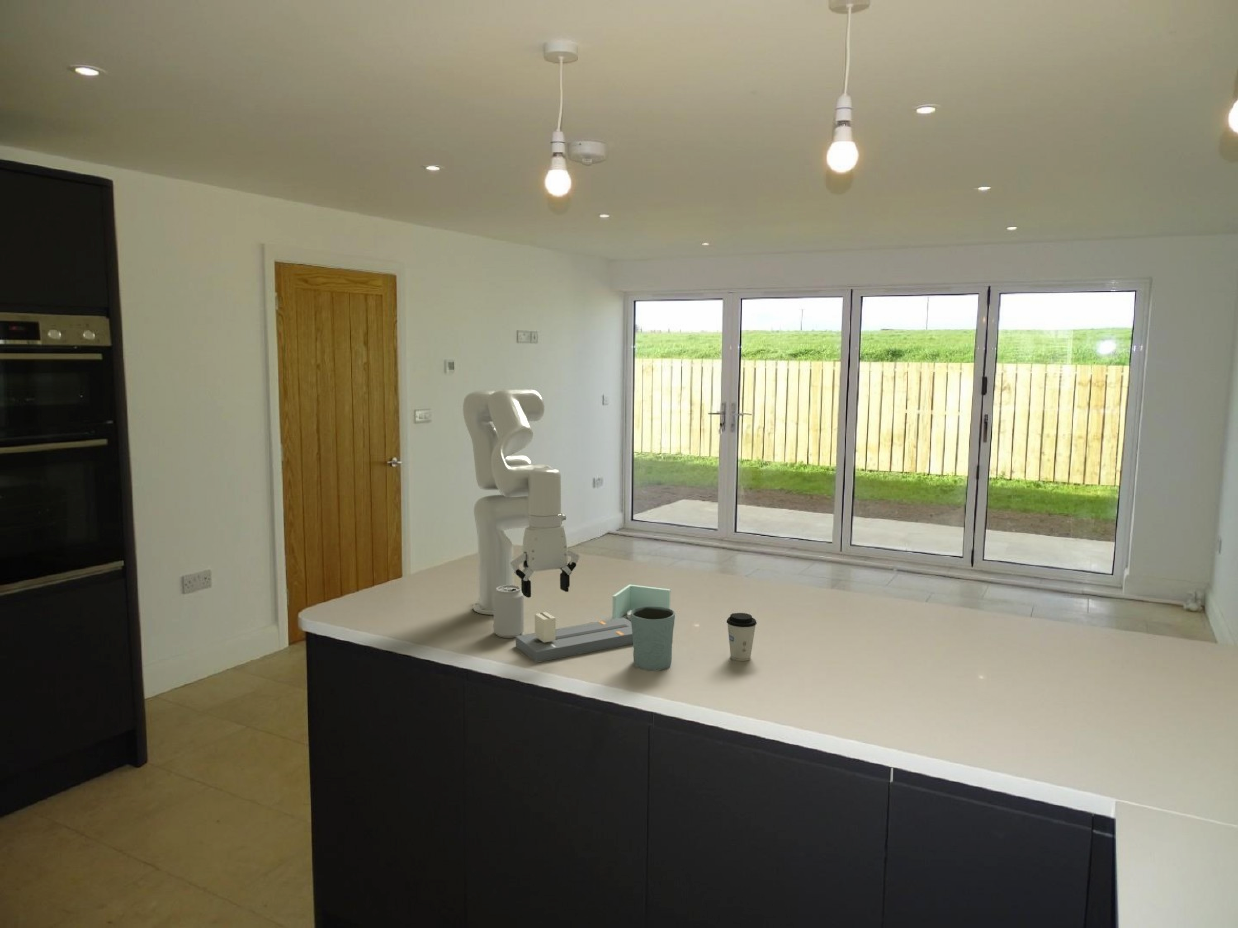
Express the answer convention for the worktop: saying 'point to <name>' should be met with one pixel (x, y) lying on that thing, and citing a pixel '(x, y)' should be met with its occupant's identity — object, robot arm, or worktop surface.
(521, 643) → the fader console
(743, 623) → the coffee cup
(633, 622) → the teal embossed cup
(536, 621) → the fader tab
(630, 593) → the right angle wall
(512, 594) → the can
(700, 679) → the worktop surface
